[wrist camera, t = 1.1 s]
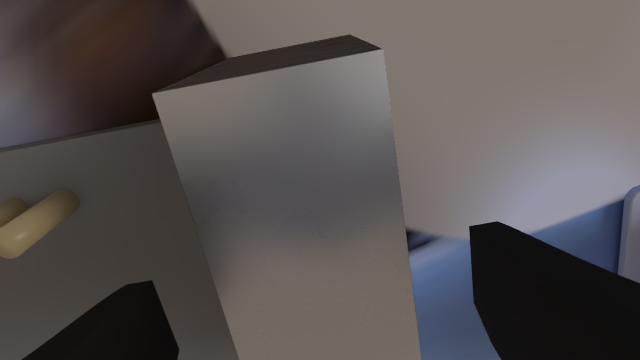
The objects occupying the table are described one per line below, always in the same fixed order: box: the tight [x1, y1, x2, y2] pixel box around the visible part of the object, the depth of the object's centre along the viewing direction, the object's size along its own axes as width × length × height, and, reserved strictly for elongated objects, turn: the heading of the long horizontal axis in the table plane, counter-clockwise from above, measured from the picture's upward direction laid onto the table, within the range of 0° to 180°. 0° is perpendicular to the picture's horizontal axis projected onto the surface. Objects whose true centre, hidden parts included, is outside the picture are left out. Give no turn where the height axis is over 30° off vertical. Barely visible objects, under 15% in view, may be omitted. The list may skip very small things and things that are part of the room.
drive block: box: [152, 34, 421, 360], centre depth 12 cm, size 4×10×7 cm, turn 11°
